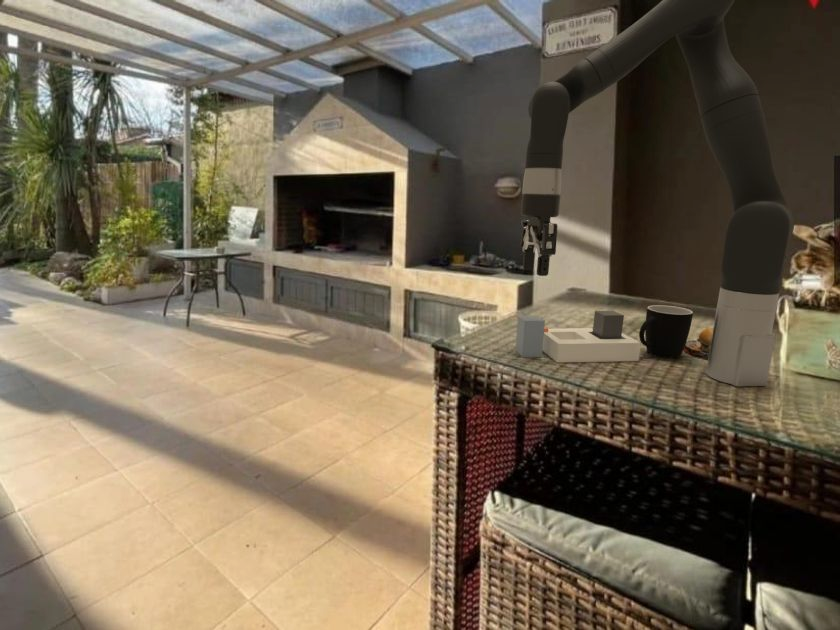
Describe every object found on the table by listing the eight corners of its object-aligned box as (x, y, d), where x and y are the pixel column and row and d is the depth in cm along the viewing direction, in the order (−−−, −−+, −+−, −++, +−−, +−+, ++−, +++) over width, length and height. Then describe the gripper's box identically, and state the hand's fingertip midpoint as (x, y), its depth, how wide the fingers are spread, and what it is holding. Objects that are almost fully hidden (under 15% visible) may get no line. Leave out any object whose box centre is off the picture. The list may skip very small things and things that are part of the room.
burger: (753, 365, 104) (759, 331, 102) (692, 361, 106) (697, 327, 104) (730, 349, 115) (735, 318, 114) (675, 345, 118) (680, 314, 116)
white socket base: (638, 361, 104) (644, 319, 102) (556, 362, 102) (560, 320, 100) (610, 344, 116) (614, 307, 114) (536, 345, 113) (539, 307, 111)
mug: (661, 346, 115) (668, 304, 113) (695, 358, 107) (702, 312, 105) (622, 351, 111) (627, 307, 108) (654, 363, 103) (660, 316, 100)
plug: (541, 357, 105) (544, 320, 104) (521, 357, 105) (524, 320, 103) (534, 350, 110) (537, 315, 108) (515, 351, 109) (517, 315, 107)
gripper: (574, 192, 93) (565, 278, 97) (546, 193, 107) (539, 267, 111) (535, 191, 92) (528, 277, 96) (512, 192, 106) (507, 267, 110)
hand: (534, 272), depth 103 cm, fingers open, 8 cm apart
